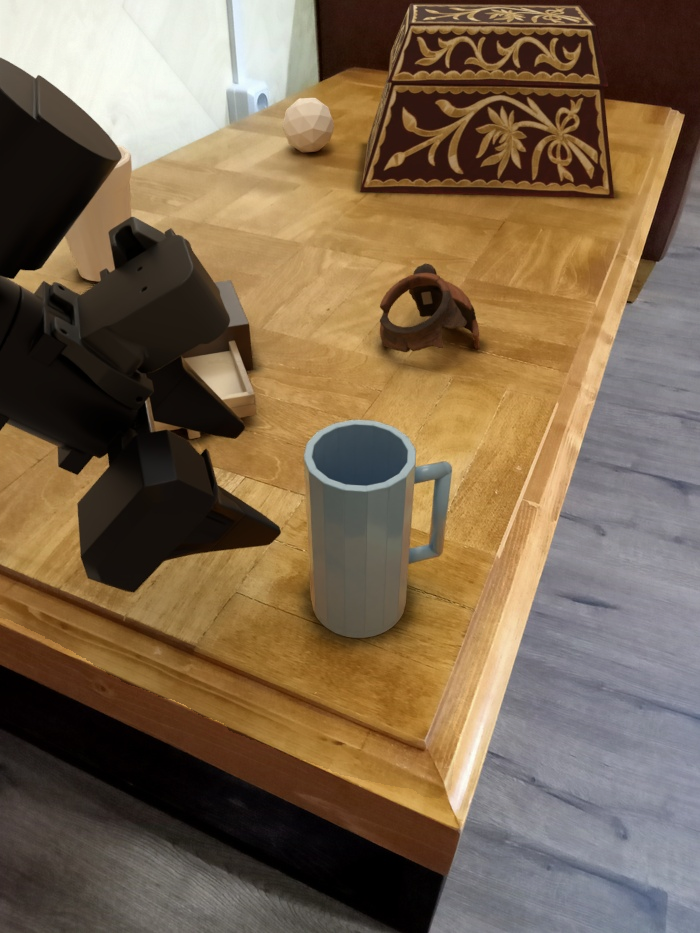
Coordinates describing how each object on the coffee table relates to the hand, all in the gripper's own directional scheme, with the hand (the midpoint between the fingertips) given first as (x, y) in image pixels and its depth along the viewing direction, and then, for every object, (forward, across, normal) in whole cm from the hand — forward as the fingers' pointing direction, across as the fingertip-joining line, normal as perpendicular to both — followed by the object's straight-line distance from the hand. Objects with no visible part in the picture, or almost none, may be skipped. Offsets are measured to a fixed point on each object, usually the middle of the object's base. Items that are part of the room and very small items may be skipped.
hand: (256, 480), depth 43 cm
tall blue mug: (+14, 0, +4) cm, 15 cm away
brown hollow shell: (+25, +30, -7) cm, 40 cm away
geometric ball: (+28, +88, -9) cm, 93 cm away
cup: (+4, +55, +14) cm, 57 cm away
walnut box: (+8, +30, +10) cm, 33 cm away
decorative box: (+43, +72, -25) cm, 88 cm away
